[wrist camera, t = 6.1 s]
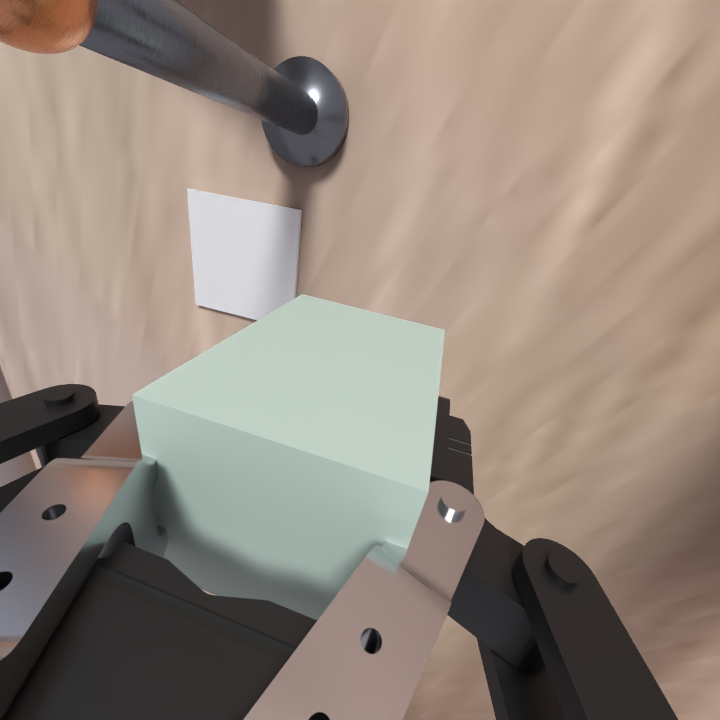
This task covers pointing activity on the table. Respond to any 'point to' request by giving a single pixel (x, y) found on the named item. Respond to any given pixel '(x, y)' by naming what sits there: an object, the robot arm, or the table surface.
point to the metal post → (193, 65)
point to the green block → (293, 450)
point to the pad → (243, 253)
